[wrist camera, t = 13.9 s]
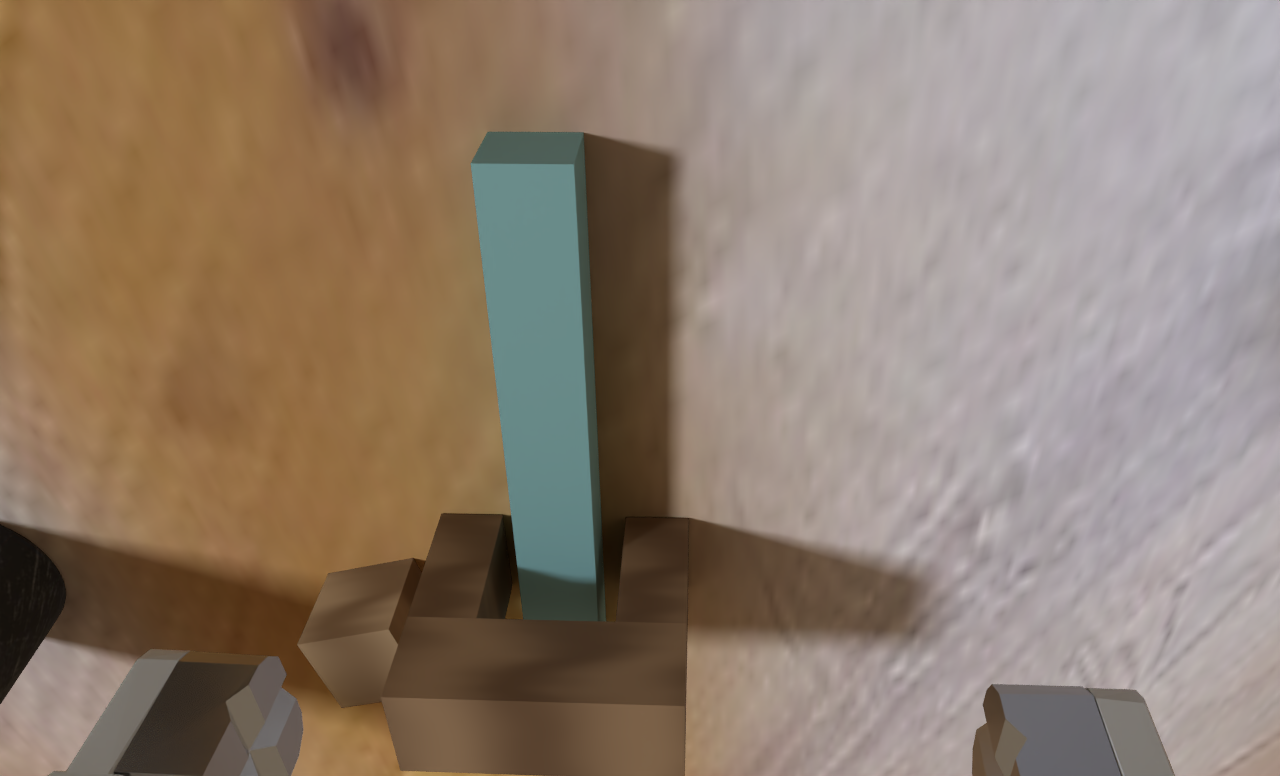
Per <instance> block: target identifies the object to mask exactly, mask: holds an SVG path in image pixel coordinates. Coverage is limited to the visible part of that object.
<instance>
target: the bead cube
mask: <svg viewBox="0 0 1280 776" xmlns="http://www.w3.org/2000/svg"><path fill="white" fill-rule="evenodd" d="M421 574H422V572H421V571H420V569H419V567H418V565H417V564H416V562H415V560H414V558H410V559H405V560H399V561H394V562H388V563H383V564H377V565H372V566H366V567H361V568H355V569H350V570H345V571H339V572H334V573H328V576H327V578H326V580H325V582H324V585H323V587H322V589H321V591H320V594H319V596H318V598H317V601H316V603H315V605H314V607H313V610H312V612H311V614H310V617H309V619H308V621H307V623H306V626H305V628H304V630H303V632H302V635H301V637H300V639H299V642H298V644H297V645H298V647H299V648H300V650H301V651H302V653H303V654H304V655H305V657H306V658H307V660H308V661H309V662H310V664H311V665H312V667H313V668H314V669H315V671H316V672H317V674H318V675H319V677H320V678H321V679H322V681H323V682H324V684H325V685H326V686H327V688H328V689H329V691H330V692H331V693H332V695H333V696H334V698H335V699H336V700H337V702H338V703H339V705H340V706H341V708H344V707H351V706H357V705H364V704H371V703H377V702H382V700H381V695H382V692H383V689H384V686H385V683H386V680H387V677H388V674H389V671H390V668H391V665H392V662H393V659H394V656H395V653H396V650H397V647H398V644H399V641H400V637H401V634H402V631H403V628H404V625H405V622H406V619H407V616H408V613H409V610H410V607H411V604H412V601H413V598H414V595H415V592H416V589H417V586H418V583H419V580H420V577H421Z"/></svg>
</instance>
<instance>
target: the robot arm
mask: <svg viewBox="0 0 1280 776" xmlns="http://www.w3.org/2000/svg"><path fill="white" fill-rule="evenodd" d="M286 675H287V674H286V672H285V670H284V668H283V666H282V663H281V661H280V659H279V657H277V656H262V655H246V654H231V653H215V652H200V651H185V650H164V649H150V650H149V651H147V652H146V653H145V654H144V655H142V656H141V657H140V658H138V659H137V661H136V662H135V663H134V665H133V667H132V668H131V670H130V671H129V673H128V675H127V676H126V678H125V679H124V681H123V682H122V684H121V686H120V687H119V689H118V690H117V692H116V693H115V695H114V697H113V698H112V700H111V701H110V703H109V705H108V706H107V708H106V709H105V711H104V712H103V714H102V716H101V717H100V719H99V720H98V722H97V723H96V725H95V727H94V728H93V730H92V731H91V733H90V734H89V736H88V738H87V739H86V741H85V742H84V744H83V746H82V747H81V749H80V750H79V752H78V753H77V755H76V757H75V758H74V760H73V761H72V763H71V764H70V766H69V768H68V769H67V771H53V772H52V773H50V774H49V775H48V776H291V774H292V772H293V769H294V767H295V764H296V762H297V759H298V757H299V752H300V746H301V740H302V734H303V722H302V712H301V709H300V707H299V704H298V701H297V699H296V698H295V697H294V696H292V695H291V694H289V693H288V692H287V691H285V690H284V689H283V688H281V686H282V684H283V682H284V679H285V677H286ZM983 707H984V712H985V716H986V721H987V723H986V724H984V725H983V726H981V727H980V728H978V729H977V730H976V735H975V740H974V745H973V761H972V775H973V776H1175V774H1174V772H1173V769H1172V767H1171V764H1170V762H1169V759H1168V757H1167V754H1166V752H1165V749H1164V747H1163V744H1162V742H1161V739H1160V737H1159V734H1158V732H1157V729H1156V727H1155V724H1154V722H1153V720H1152V717H1151V715H1150V712H1149V710H1148V707H1147V705H1146V702H1145V700H1144V698H1143V697H1142V696H1141V695H1140V694H1139V693H1138V692H1137V691H1136V690H1131V689H1101V688H1083V687H1081V686H1044V685H1006V684H992V685H991V686H990V687H989V688H988V689H987V691H986V695H985V699H984V702H983Z"/></svg>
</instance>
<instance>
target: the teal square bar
mask: <svg viewBox="0 0 1280 776" xmlns="http://www.w3.org/2000/svg"><path fill="white" fill-rule="evenodd" d="M471 170H472V178H473V187H474V196H475V204H476V213H477V222H478V230H479V239H480V248H481V256H482V265H483V274H484V282H485V291H486V300H487V308H488V317H489V326H490V334H491V343H492V352H493V360H494V369H495V378H496V387H497V395H498V404H499V413H500V421H501V430H502V439H503V447H504V456H505V465H506V473H507V482H508V491H509V499H510V508H511V517H512V525H513V534H514V543H515V551H516V560H517V569H518V577H519V586H520V595H521V603H522V612H523V620H564V621H605V622H606V608H605V586H604V564H603V543H602V521H601V499H600V478H599V456H598V434H597V413H596V391H595V369H594V348H593V326H592V304H591V283H590V261H589V239H588V218H587V196H586V174H585V153H584V132H487V134H486V136H485V138H484V140H483V142H482V143H481V145H480V147H479V149H478V151H477V153H476V155H475V157H474V158H473V160H472V162H471Z"/></svg>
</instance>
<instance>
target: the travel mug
mask: <svg viewBox="0 0 1280 776" xmlns="http://www.w3.org/2000/svg"><path fill="white" fill-rule="evenodd" d="M65 598H66V592H65V586H64V582H63V580H62V577H61V575H60V573H59V572H58V570H57V568H56V567H55V565H54V564H53V563H52V562H51V560H50V559H49V558H48V557H47V556H46V555H45V554H44V553H43V552H42V551H41V550H40V549H38V548H37V547H36V546H35V545H34V544H32V543H31V542H29V541H28V540H27V539H25V538H24V537H22V536H20V535H19V534H17V533H15V532H13V531H11V530H9V529H7V528H5V527H3V526H1V525H0V704H1V703H2V701H3V700H4V698H5V697H6V695H7V694H8V692H9V691H10V689H11V688H12V686H13V685H14V683H15V682H16V680H17V679H18V677H19V676H20V674H21V673H22V671H23V670H24V668H25V667H26V665H27V664H28V662H29V661H30V659H31V658H32V656H33V655H34V653H35V652H36V650H37V649H38V647H39V646H40V644H41V643H42V641H43V640H44V638H45V637H46V635H47V634H48V632H49V630H50V629H51V627H52V626H53V624H54V623H55V621H56V620H57V618H58V616H59V615H60V613H61V611H62V609H63V606H64V603H65Z"/></svg>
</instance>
